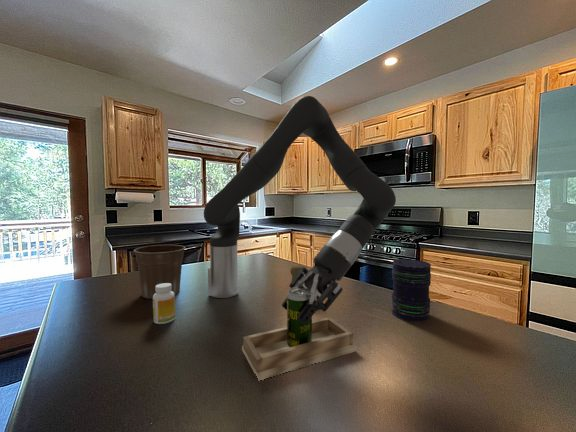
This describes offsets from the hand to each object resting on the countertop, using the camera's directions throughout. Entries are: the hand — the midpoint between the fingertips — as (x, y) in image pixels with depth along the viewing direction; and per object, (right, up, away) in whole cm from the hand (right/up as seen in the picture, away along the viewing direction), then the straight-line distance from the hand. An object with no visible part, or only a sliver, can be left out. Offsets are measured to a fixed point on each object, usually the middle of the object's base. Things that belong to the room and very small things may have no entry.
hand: (292, 314), depth 56 cm
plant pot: (-45, -7, +37) cm, 59 cm away
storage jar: (+34, -7, +19) cm, 40 cm away
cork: (+3, -7, +32) cm, 33 cm away
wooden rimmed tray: (+1, -8, +1) cm, 8 cm away
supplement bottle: (-35, -8, +16) cm, 39 cm away
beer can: (+2, -7, +1) cm, 8 cm away
